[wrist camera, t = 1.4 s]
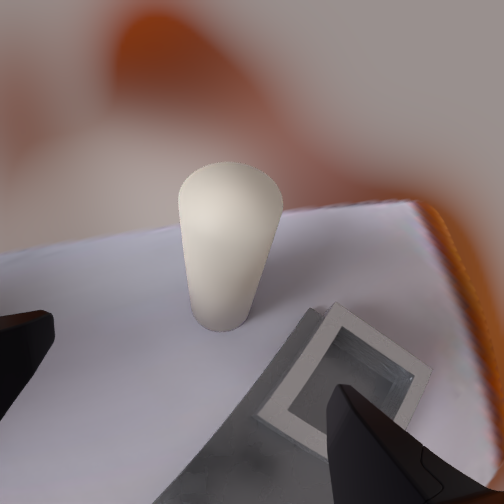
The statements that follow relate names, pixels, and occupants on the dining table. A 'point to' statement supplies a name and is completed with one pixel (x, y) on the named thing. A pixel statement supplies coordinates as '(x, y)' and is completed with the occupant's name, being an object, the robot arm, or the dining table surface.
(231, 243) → the peg
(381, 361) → the socket
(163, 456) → the dining table surface
